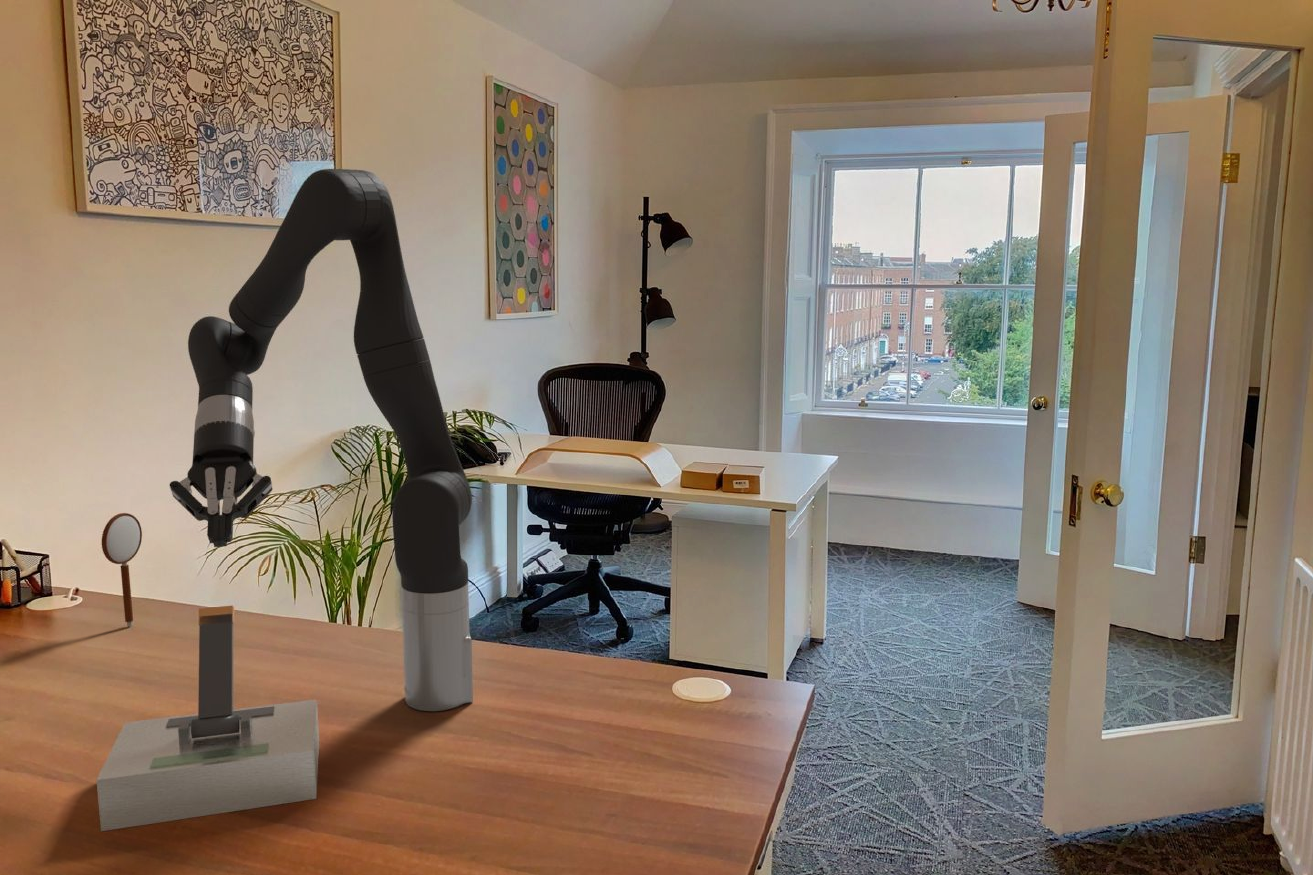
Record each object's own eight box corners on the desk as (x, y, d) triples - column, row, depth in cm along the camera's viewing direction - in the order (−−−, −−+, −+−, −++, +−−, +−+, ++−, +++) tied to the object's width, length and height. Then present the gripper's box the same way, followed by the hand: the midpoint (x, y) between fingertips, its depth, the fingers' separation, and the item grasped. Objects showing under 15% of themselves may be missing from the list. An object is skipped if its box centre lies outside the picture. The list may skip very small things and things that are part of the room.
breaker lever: (240, 733, 112) (239, 607, 117) (237, 731, 110) (237, 604, 115) (193, 738, 110) (195, 611, 115) (190, 737, 108) (192, 608, 113)
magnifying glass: (115, 636, 157) (105, 520, 154) (106, 635, 157) (96, 519, 154) (151, 618, 165) (142, 508, 162) (143, 617, 166) (134, 507, 162)
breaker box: (319, 742, 122) (316, 684, 120) (316, 798, 108) (312, 734, 107) (128, 768, 115) (123, 706, 113) (101, 831, 102) (94, 762, 100)
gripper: (166, 421, 125) (157, 533, 115) (272, 417, 129) (272, 524, 120) (176, 453, 131) (168, 562, 121) (277, 448, 135) (277, 553, 125)
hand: (219, 543), depth 120 cm, fingers closed
